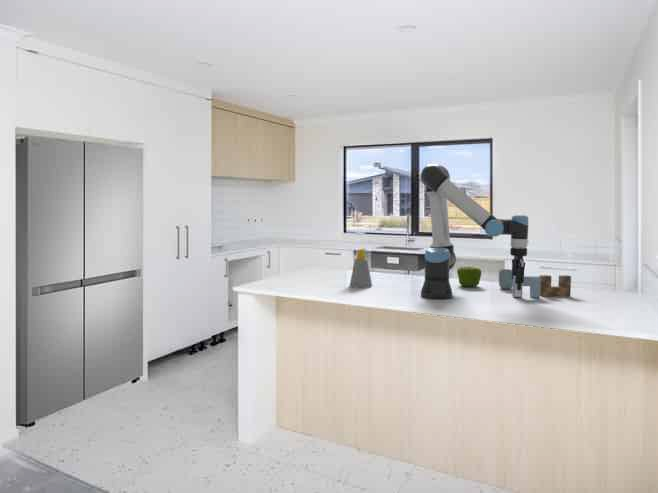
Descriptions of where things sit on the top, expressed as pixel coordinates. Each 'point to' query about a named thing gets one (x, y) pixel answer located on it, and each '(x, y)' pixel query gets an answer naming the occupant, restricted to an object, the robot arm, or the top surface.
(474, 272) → the green rounded piece
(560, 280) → the brown u-shaped block
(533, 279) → the grey tunnel block
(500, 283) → the cup
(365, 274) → the soap bottle
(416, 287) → the top surface
